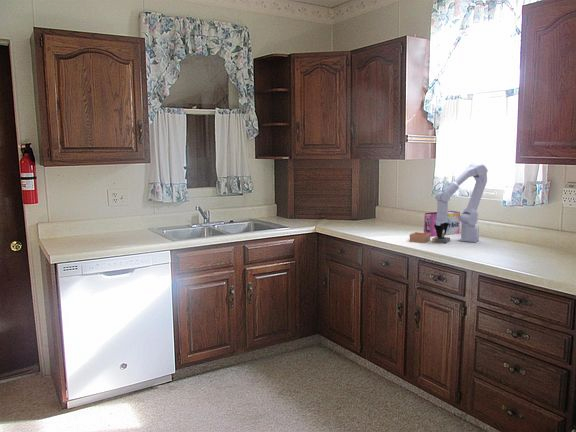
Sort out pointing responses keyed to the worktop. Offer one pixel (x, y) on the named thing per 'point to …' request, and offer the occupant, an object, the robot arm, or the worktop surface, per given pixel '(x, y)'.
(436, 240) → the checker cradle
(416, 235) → the cup
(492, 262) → the worktop surface
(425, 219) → the gum box
